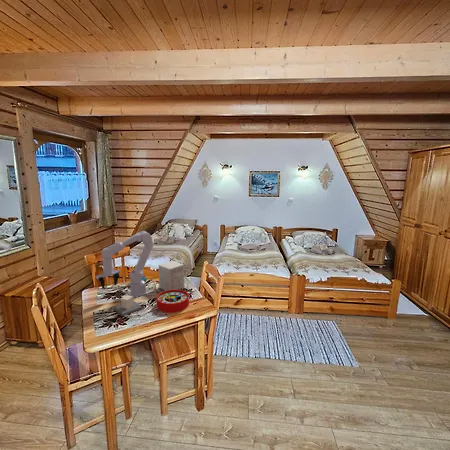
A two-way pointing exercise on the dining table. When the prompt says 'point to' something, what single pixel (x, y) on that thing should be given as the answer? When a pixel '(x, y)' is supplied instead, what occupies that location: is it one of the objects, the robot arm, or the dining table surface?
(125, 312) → the stub plate
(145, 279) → the gear
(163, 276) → the supplement box
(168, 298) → the toy clock
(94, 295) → the dining table surface
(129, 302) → the block
